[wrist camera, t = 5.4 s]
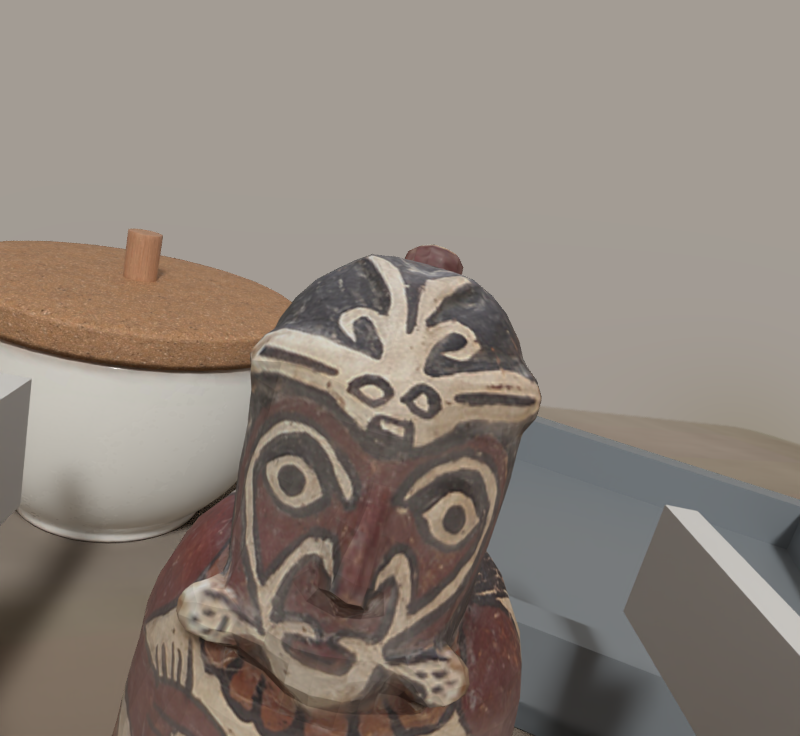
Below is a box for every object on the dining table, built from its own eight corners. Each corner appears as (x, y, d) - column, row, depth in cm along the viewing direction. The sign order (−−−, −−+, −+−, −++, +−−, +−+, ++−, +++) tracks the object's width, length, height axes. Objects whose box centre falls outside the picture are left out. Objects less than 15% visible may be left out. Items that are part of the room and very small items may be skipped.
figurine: (-36, 977, 10) (32, 186, 7) (205, 674, 17) (297, 200, 14) (405, 1216, 9) (743, 390, 6) (477, 788, 16) (650, 295, 12)
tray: (306, 639, 19) (328, 548, 18) (442, 442, 36) (457, 390, 35) (1019, 939, 15) (1088, 842, 14) (796, 561, 32) (822, 506, 31)
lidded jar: (317, 551, 23) (377, 292, 21) (-51, 629, 16) (-28, 254, 14) (196, 422, 31) (230, 221, 28) (-90, 438, 24) (-80, 173, 21)
